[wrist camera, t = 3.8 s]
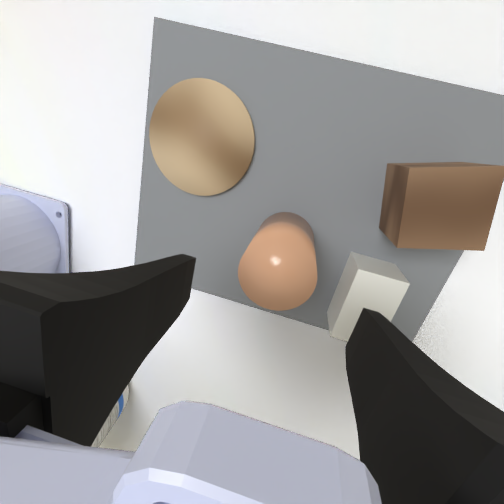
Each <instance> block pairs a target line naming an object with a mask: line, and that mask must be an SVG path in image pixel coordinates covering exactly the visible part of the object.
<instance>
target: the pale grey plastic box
mask: <svg viewBox="0 0 504 504" xmlns="http://www.w3.org/2000/svg"><path fill="white" fill-rule="evenodd" d="M409 285H410V283H409V282H408V280H407V279H406V278H405V276H404V275H403V274H402V272H401V271H400V270H399V268H398V267H397V266H396V265H395V264H394V263H390V262H387V261H383V260H379V259H376V258H372V257H369V256H365V255H362V254H358V253H354V252H351V253H350V255H349V258H348V260H347V263H346V265H345V268H344V270H343V273H342V275H341V278H340V280H339V283H338V285H337V288H336V290H335V293H334V295H333V298H332V300H331V303H330V305H329V308H328V310H327V317H328V325H329V333H330V337H333V338H337V339H340V340H343V341H346V342H348V340H349V338H350V336H351V334H352V332H353V329H354V327H355V325H356V323H357V321H358V318H359V316H360V314H361V312H362V310H363V308H367V309H370V310H373V311H377V312H379V313H381V314H382V315H383V316H384V317H386V318H387V319H388V320H389V321H390V322H391V320H392V318H393V316H394V314H395V312H396V310H397V309H398V307H399V305H400V303H401V301H402V299H403V297H404V295H405V293H406V291H407V289H408V287H409Z"/></svg>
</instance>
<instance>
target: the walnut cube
mask: <svg viewBox="0 0 504 504" xmlns="http://www.w3.org/2000/svg"><path fill="white" fill-rule="evenodd" d="M503 179H504V166H501V165H490V164H479V163H468V162H430V163H387V168H386V176H385V184H384V192H383V199H382V207H381V215H380V222H379V229H380V230H381V231H382V232H383V233H384V234H385V235H386V236H387V237H388V239H389V240H390V241H391V242H392V243H393V244H394V245H395V246H396V247H397V248H414V249H447V250H479V251H484V249H485V246H486V242H487V238H488V235H489V231H490V227H491V223H492V220H493V216H494V212H495V209H496V205H497V201H498V198H499V194H500V190H501V186H502V183H503Z"/></svg>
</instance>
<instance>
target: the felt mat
mask: <svg viewBox="0 0 504 504" xmlns="http://www.w3.org/2000/svg"><path fill="white" fill-rule="evenodd" d="M191 78H205V79H211V80H214V81H217V82H219V83H221V84H223V85H224V86H226V87H227V88H229V89H230V90H232V91H233V92H234V93H235V94H236V95H237V96H238V97H239V98H240V100H241V101H242V102H243V104H244V105H245V107H246V108H247V110H248V112H249V114H250V117H251V120H252V123H253V127H254V133H255V148H254V154H253V158H252V161H251V164H250V166H249V168H248V170H247V172H246V173H245V175H244V176H243V177H242V179H241V180H240V181H239V182H238V183H237V184H235V185H234V186H233V187H231V188H230V189H228V190H226V191H224V192H222V193H219V194H215V195H210V196H200V195H194V194H190V193H187V192H185V191H183V190H181V189H179V188H178V187H176V186H175V185H173V184H172V183H171V182H170V181H169V180H168V179H167V178H166V177H165V176H164V175H163V173H162V172H161V170H160V169H159V167H158V165H157V164H156V161H155V159H154V157H153V154H152V151H151V146H150V138H149V127H150V120H151V117H152V113H153V110H154V108H155V106H156V104H157V102H158V100H159V99H160V98H161V96H162V95H163V94H164V93H165V92H166V91H167V90H168V89H169V88H170V87H172V86H173V85H175V84H177V83H178V82H180V81H183V80H186V79H191ZM430 162H468V163H479V164H490V165H501V166H504V95H500V94H496V93H491V92H487V91H482V90H478V89H473V88H469V87H464V86H460V85H455V84H451V83H447V82H442V81H438V80H433V79H429V78H424V77H420V76H415V75H411V74H406V73H402V72H397V71H393V70H389V69H384V68H380V67H375V66H371V65H366V64H362V63H357V62H353V61H348V60H344V59H340V58H335V57H331V56H326V55H322V54H317V53H313V52H308V51H304V50H299V49H295V48H290V47H286V46H282V45H277V44H273V43H268V42H264V41H259V40H255V39H250V38H246V37H241V36H237V35H233V34H228V33H224V32H219V31H215V30H210V29H206V28H201V27H197V26H192V25H188V24H183V23H179V22H175V21H170V20H166V19H161V18H157V17H154V27H153V39H152V52H151V64H150V77H149V89H148V102H147V114H146V127H145V139H144V152H143V164H142V177H141V189H140V202H139V214H138V227H137V240H136V252H135V265H138V264H143V263H147V262H151V261H155V260H159V259H162V258H166V257H170V256H174V255H179V254H185V255H189V256H192V257H195V258H196V263H195V269H194V275H193V280H192V286H191V288H193V289H196V290H199V291H202V292H206V293H209V294H212V295H215V296H219V297H222V298H225V299H228V300H232V301H235V302H238V303H242V304H245V305H248V306H251V307H255V308H258V309H261V310H264V311H268V312H271V313H274V314H277V315H281V316H284V317H287V318H291V319H294V320H297V321H300V322H304V323H307V324H310V325H313V326H317V327H320V328H323V329H326V330H329V325H328V317H327V310H328V308H329V305H330V303H331V300H332V298H333V295H334V293H335V290H336V288H337V285H338V283H339V280H340V278H341V275H342V273H343V270H344V268H345V265H346V263H347V260H348V258H349V255H350V253H351V252H354V253H358V254H362V255H365V256H369V257H372V258H376V259H379V260H383V261H387V262H390V263H394V264H395V265H396V266H397V267H398V268H399V270H400V271H401V272H402V274H403V275H404V276H405V278H406V279H407V280H408V282H409V283H410V285H409V287H408V289H407V291H406V293H405V295H404V297H403V299H402V301H401V303H400V305H399V307H398V309H397V310H396V312H395V314H394V316H393V318H392V320H391V323H392V324H393V325H394V326H396V327H397V328H398V329H399V330H400V331H401V332H402V333H403V334H404V335H405V336H406V337H407V338H408V339H409V340H410V341H411V342H412V341H413V339H414V338H415V336H416V334H417V332H418V331H419V329H420V327H421V325H422V323H423V322H424V320H425V318H426V316H427V315H428V313H429V311H430V309H431V308H432V306H433V304H434V302H435V301H436V299H437V297H438V295H439V294H440V292H441V290H442V288H443V286H444V285H445V283H446V281H447V279H448V278H449V276H450V274H451V272H452V271H453V269H454V267H455V265H456V264H457V262H458V260H459V258H460V256H461V255H462V253H463V251H464V250H447V249H414V248H397V247H396V246H395V245H394V244H393V243H392V242H391V241H390V240H389V239H388V237H387V236H386V235H385V234H384V233H383V232H382V231H381V230H380V229H379V222H380V215H381V207H382V199H383V192H384V184H385V176H386V168H387V163H430ZM503 181H504V179H503ZM279 212H291V213H295V214H297V215H299V216H301V217H302V218H304V219H305V220H306V221H307V222H308V223H309V225H310V226H311V228H312V230H313V234H314V242H315V253H316V265H317V284H316V287H315V290H314V292H313V293H312V295H311V296H310V298H309V299H308V300H307V301H306V302H304V303H303V304H301V305H300V306H298V307H296V308H293V309H290V310H284V311H276V310H270V309H266V308H263V307H261V306H259V305H257V304H256V303H254V302H253V301H252V300H250V299H249V298H248V297H247V295H246V294H245V293H244V291H243V290H242V288H241V285H240V283H239V279H238V267H239V263H240V260H241V258H242V256H243V254H244V253H245V251H246V249H247V247H248V246H249V244H250V242H251V241H252V239H253V237H254V236H255V234H256V232H257V230H258V229H259V227H260V225H261V224H262V223H263V221H264V220H265V219H267V218H268V217H269V216H271V215H273V214H276V213H279Z"/></svg>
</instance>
